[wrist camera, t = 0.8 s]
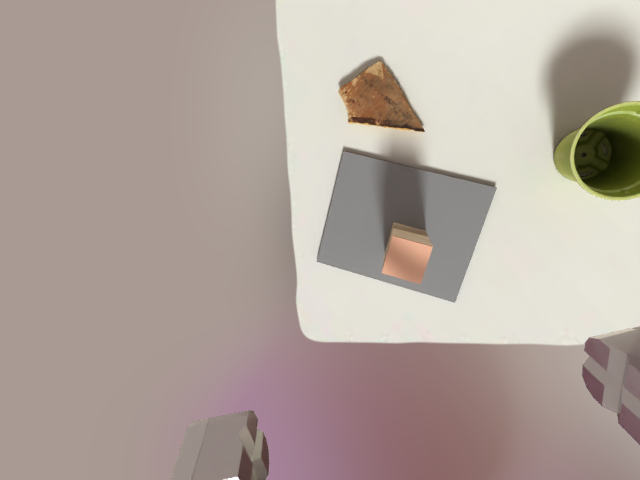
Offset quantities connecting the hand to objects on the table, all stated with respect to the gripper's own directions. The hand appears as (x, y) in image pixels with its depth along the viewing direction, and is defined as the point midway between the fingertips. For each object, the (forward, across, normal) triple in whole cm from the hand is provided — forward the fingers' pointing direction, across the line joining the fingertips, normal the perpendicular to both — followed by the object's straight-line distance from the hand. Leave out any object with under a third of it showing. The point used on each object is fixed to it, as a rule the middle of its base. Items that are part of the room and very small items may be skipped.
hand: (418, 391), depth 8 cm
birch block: (+37, -8, +14) cm, 41 cm away
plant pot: (+35, -31, +7) cm, 47 cm away
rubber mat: (+38, -8, +12) cm, 41 cm away
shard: (+43, -10, -4) cm, 44 cm away
